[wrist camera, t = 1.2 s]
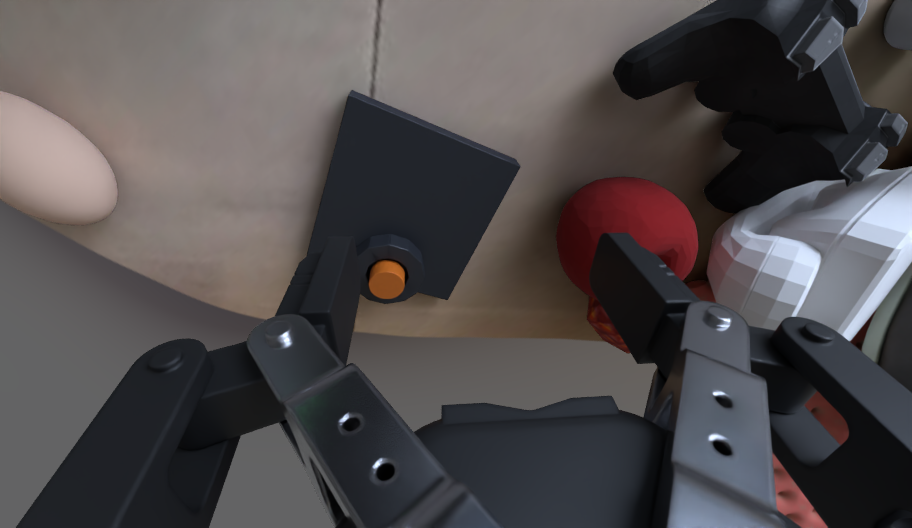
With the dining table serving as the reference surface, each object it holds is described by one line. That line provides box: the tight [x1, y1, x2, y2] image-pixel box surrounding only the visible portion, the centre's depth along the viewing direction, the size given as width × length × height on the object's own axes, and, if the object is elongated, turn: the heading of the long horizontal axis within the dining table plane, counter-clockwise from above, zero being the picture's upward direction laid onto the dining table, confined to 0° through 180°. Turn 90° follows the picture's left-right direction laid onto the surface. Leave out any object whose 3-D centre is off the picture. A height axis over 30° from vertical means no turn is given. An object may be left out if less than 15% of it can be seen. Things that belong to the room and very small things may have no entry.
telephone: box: [707, 167, 912, 342], centre depth 28 cm, size 16×20×9 cm
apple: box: [556, 177, 698, 301], centre depth 26 cm, size 9×9×10 cm
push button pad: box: [306, 90, 520, 304], centre depth 27 cm, size 14×12×3 cm
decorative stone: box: [587, 296, 631, 353], centre depth 32 cm, size 6×7×8 cm
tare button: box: [369, 260, 405, 299], centre depth 28 cm, size 3×3×2 cm
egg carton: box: [685, 280, 877, 528], centre depth 34 cm, size 28×28×2 cm
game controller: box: [613, 0, 908, 213], centre depth 23 cm, size 16×7×10 cm, turn 49°
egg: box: [0, 91, 118, 225], centre depth 21 cm, size 5×5×8 cm
